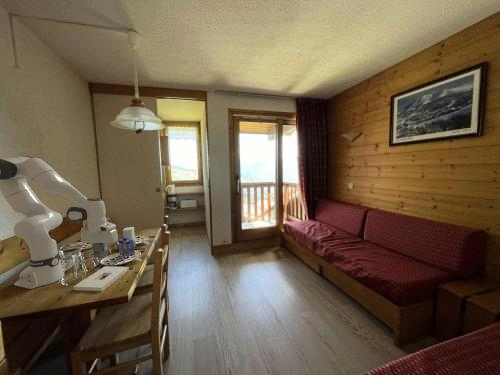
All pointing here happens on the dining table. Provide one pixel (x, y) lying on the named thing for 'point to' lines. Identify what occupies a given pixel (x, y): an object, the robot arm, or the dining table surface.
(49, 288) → the dining table surface
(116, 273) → the pocket plate
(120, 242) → the ink cartridge box
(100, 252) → the servo block
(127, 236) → the skincare box
